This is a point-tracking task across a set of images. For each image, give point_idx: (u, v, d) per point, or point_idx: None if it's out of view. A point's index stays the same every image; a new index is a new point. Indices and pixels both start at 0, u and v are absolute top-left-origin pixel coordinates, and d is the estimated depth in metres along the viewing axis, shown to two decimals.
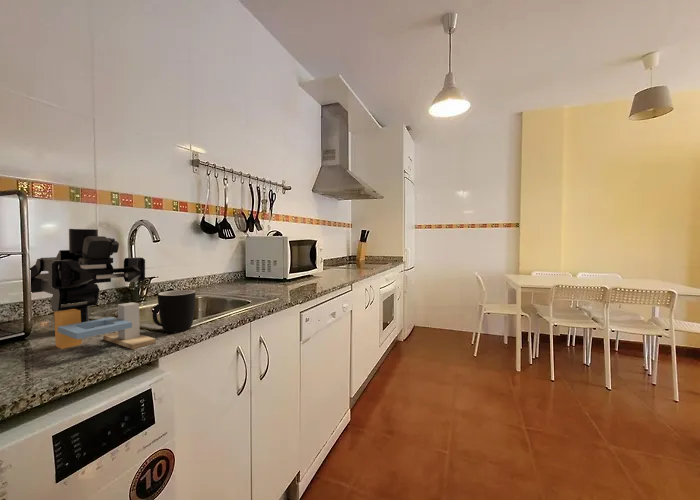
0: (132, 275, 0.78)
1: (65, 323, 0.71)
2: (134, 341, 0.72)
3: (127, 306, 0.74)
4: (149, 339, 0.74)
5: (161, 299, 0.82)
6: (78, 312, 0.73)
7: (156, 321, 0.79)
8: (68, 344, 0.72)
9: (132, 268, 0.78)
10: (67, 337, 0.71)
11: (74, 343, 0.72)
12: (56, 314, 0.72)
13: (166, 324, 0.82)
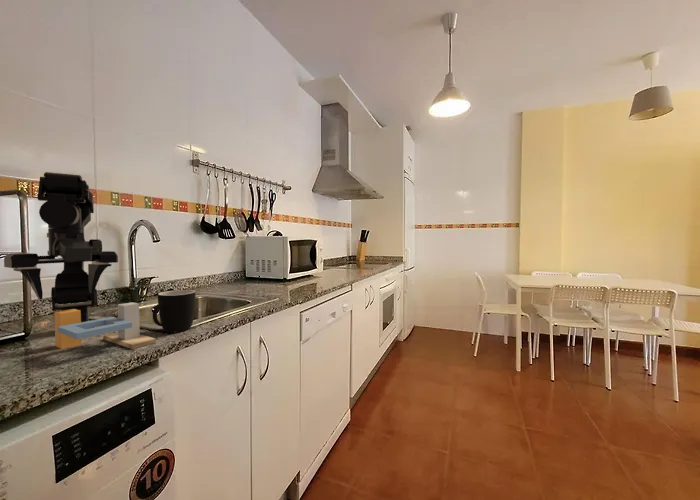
0: (89, 277, 0.77)
1: (65, 323, 0.71)
2: (134, 341, 0.72)
3: (127, 306, 0.74)
4: (149, 339, 0.74)
5: (161, 299, 0.82)
6: (78, 312, 0.73)
7: (156, 321, 0.79)
8: (68, 344, 0.72)
9: (93, 277, 0.76)
10: (67, 337, 0.71)
11: (74, 343, 0.72)
12: (56, 314, 0.72)
13: (166, 324, 0.82)
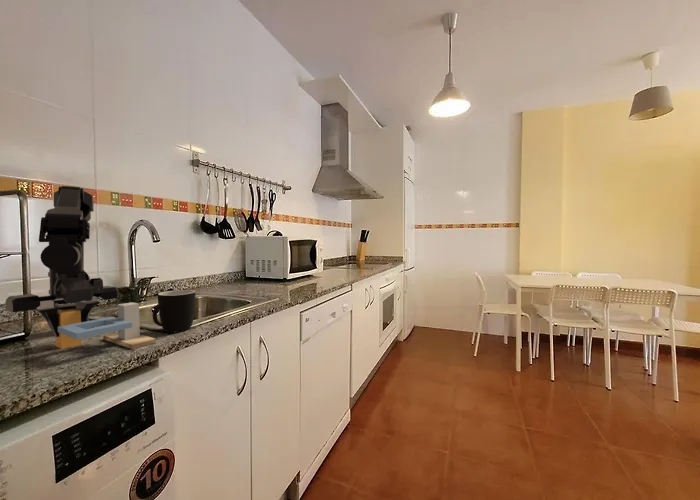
0: None
1: (65, 323, 0.71)
2: (134, 341, 0.72)
3: (127, 306, 0.74)
4: (149, 339, 0.74)
5: (161, 299, 0.82)
6: (78, 312, 0.73)
7: (156, 321, 0.79)
8: (68, 344, 0.72)
9: None
10: (67, 337, 0.71)
11: (74, 343, 0.72)
12: None
13: (166, 324, 0.82)
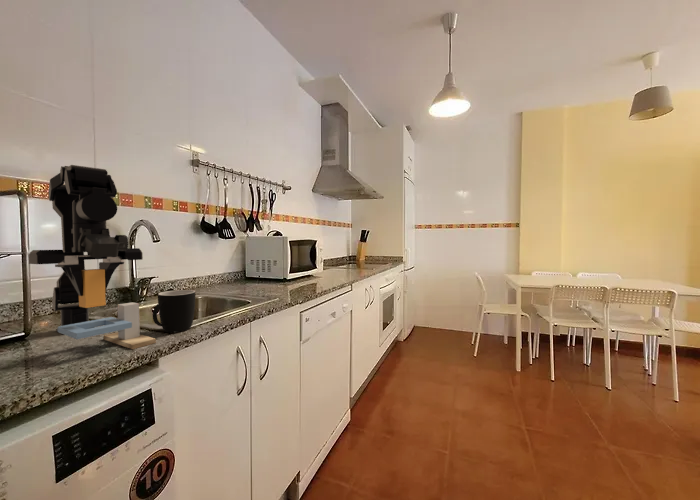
0: None
1: (89, 281, 0.68)
2: (134, 341, 0.72)
3: (127, 306, 0.74)
4: (149, 339, 0.74)
5: (161, 299, 0.82)
6: (102, 271, 0.70)
7: (156, 321, 0.79)
8: (92, 303, 0.68)
9: None
10: (91, 296, 0.68)
11: (98, 303, 0.69)
12: None
13: (166, 324, 0.82)
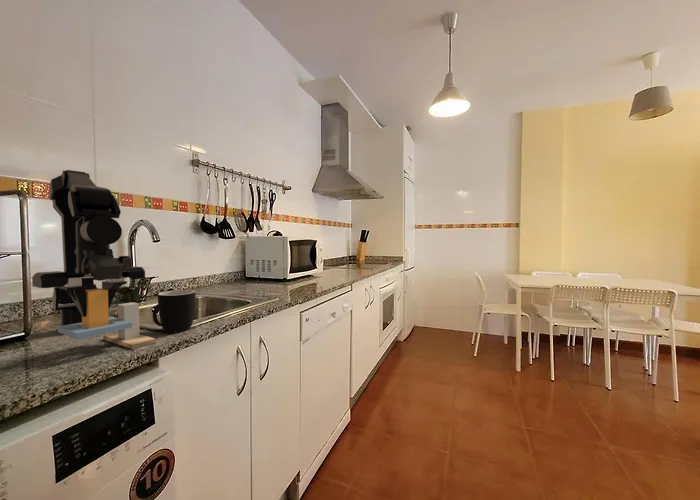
0: None
1: (93, 302, 0.68)
2: (134, 341, 0.72)
3: (127, 306, 0.74)
4: (149, 339, 0.74)
5: (161, 299, 0.82)
6: (105, 291, 0.70)
7: (156, 321, 0.79)
8: (96, 324, 0.69)
9: None
10: (95, 317, 0.68)
11: (101, 323, 0.69)
12: None
13: (166, 324, 0.82)
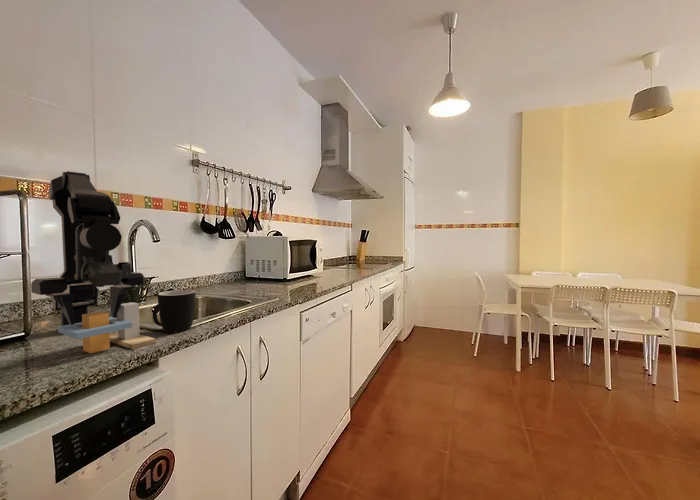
0: (112, 300, 0.74)
1: (94, 326, 0.68)
2: (134, 341, 0.72)
3: (127, 306, 0.74)
4: (149, 339, 0.74)
5: (161, 299, 0.82)
6: (106, 315, 0.70)
7: (156, 321, 0.79)
8: (96, 348, 0.69)
9: (115, 301, 0.73)
10: (96, 341, 0.69)
11: (102, 347, 0.70)
12: (84, 317, 0.69)
13: (166, 324, 0.82)
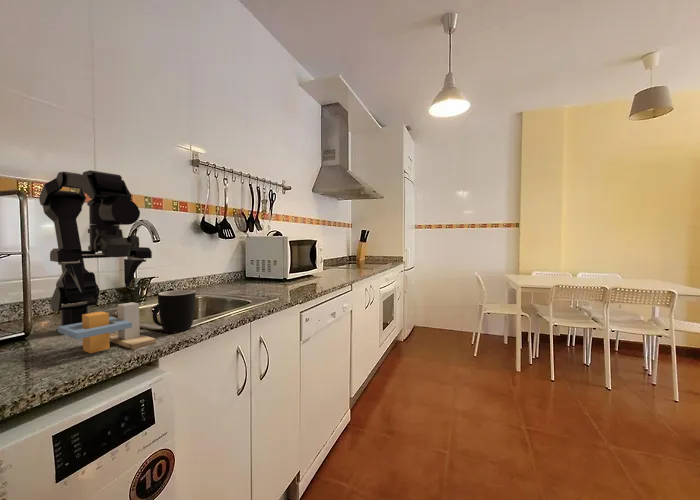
0: (125, 271, 0.81)
1: (94, 326, 0.68)
2: (134, 341, 0.72)
3: (127, 306, 0.74)
4: (149, 339, 0.74)
5: (161, 299, 0.82)
6: (106, 315, 0.70)
7: (156, 321, 0.79)
8: (96, 348, 0.69)
9: (129, 272, 0.80)
10: (96, 341, 0.69)
11: (102, 347, 0.70)
12: (84, 317, 0.69)
13: (166, 324, 0.82)
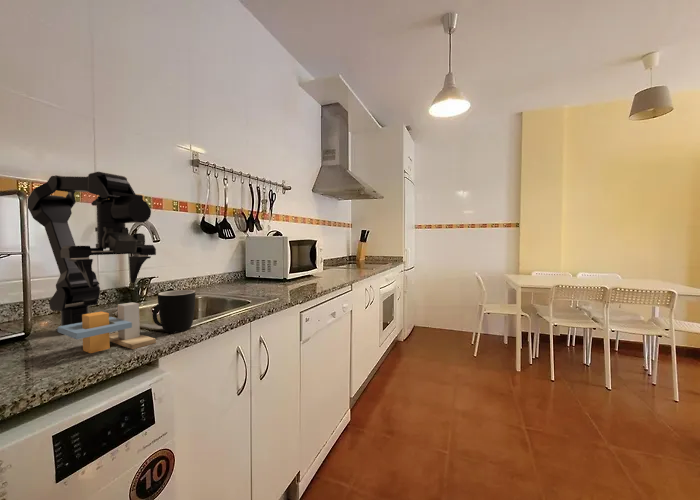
0: (131, 268, 0.85)
1: (94, 326, 0.68)
2: (134, 341, 0.72)
3: (127, 306, 0.74)
4: (149, 339, 0.74)
5: (161, 299, 0.82)
6: (106, 315, 0.70)
7: (156, 321, 0.79)
8: (96, 348, 0.69)
9: (134, 268, 0.84)
10: (96, 341, 0.69)
11: (102, 347, 0.70)
12: (84, 317, 0.69)
13: (166, 324, 0.82)
